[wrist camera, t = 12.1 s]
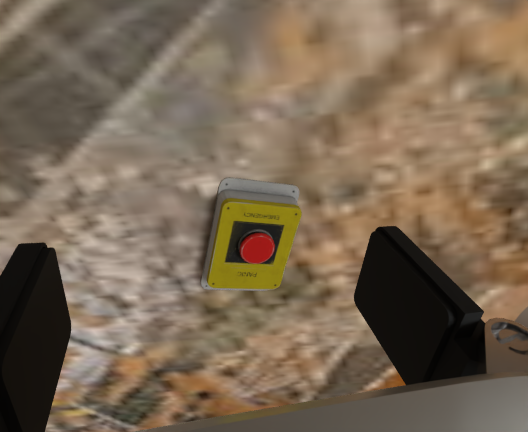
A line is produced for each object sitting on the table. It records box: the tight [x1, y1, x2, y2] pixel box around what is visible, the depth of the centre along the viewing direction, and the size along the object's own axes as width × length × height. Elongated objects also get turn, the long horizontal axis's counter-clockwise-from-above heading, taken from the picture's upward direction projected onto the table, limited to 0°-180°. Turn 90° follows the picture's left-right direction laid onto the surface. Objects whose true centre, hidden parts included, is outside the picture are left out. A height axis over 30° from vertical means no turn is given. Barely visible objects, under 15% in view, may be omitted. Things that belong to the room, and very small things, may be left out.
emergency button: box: [201, 177, 301, 291], centre depth 42 cm, size 9×4×15 cm
